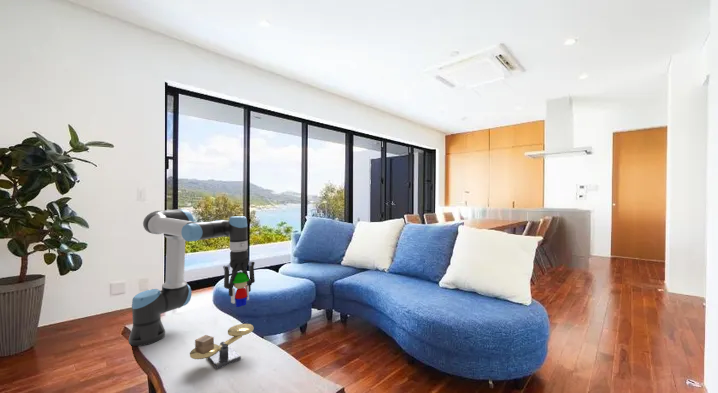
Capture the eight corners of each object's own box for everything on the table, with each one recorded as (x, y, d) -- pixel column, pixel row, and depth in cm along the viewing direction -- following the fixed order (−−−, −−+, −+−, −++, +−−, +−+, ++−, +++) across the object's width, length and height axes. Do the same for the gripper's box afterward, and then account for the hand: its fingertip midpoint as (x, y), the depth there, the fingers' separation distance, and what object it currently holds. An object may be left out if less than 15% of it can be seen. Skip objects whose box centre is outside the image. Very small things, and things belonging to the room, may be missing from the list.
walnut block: (195, 351, 129) (195, 339, 129) (206, 346, 133) (205, 334, 133) (203, 354, 126) (203, 342, 126) (213, 348, 131) (213, 337, 131)
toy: (245, 300, 146) (244, 269, 145) (252, 304, 140) (251, 272, 140) (228, 305, 140) (227, 272, 140) (235, 309, 134) (234, 275, 134)
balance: (186, 365, 131) (186, 340, 130) (247, 343, 149) (247, 321, 148) (195, 377, 122) (194, 350, 122) (258, 352, 140) (258, 329, 140)
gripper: (220, 254, 130) (221, 308, 131) (262, 248, 143) (263, 297, 144) (214, 252, 136) (215, 304, 136) (255, 246, 149) (256, 294, 149)
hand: (240, 300), depth 140 cm, fingers closed on toy, 6 cm apart
